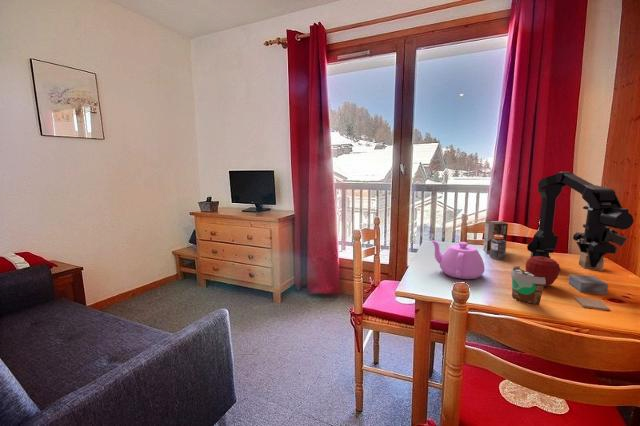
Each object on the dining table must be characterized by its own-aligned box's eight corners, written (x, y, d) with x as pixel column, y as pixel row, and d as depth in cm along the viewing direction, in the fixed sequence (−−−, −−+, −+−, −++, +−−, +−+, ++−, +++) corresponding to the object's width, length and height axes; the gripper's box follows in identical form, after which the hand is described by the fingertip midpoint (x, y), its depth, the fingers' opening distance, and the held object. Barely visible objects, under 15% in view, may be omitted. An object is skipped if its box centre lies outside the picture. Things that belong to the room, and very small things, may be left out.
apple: (560, 293, 110) (564, 262, 108) (524, 287, 115) (528, 257, 113) (555, 282, 119) (558, 253, 117) (522, 277, 124) (525, 250, 122)
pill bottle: (502, 256, 152) (504, 234, 150) (505, 260, 146) (507, 237, 144) (488, 255, 154) (490, 233, 152) (491, 258, 148) (493, 236, 146)
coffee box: (501, 250, 161) (504, 221, 158) (505, 254, 155) (508, 223, 152) (482, 249, 163) (485, 220, 160) (486, 253, 157) (488, 222, 154)
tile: (582, 307, 99) (582, 305, 99) (574, 298, 106) (574, 296, 105) (609, 310, 97) (610, 309, 96) (599, 301, 103) (599, 299, 103)
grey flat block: (580, 292, 110) (581, 282, 110) (568, 284, 118) (569, 274, 117) (606, 295, 109) (608, 284, 108) (592, 286, 116) (594, 276, 116)
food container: (499, 292, 111) (502, 265, 109) (515, 291, 111) (518, 265, 110) (525, 308, 99) (528, 278, 97) (542, 307, 99) (546, 278, 98)
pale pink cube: (588, 269, 133) (589, 258, 132) (583, 265, 138) (585, 255, 137) (602, 271, 131) (604, 259, 131) (597, 267, 136) (599, 256, 135)
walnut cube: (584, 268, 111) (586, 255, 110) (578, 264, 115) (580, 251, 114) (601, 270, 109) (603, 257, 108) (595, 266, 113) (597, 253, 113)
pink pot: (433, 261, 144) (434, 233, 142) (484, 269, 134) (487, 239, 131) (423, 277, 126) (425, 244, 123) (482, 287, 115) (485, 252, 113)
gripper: (641, 230, 98) (633, 276, 100) (611, 220, 115) (605, 259, 117) (597, 228, 102) (590, 272, 104) (575, 218, 119) (569, 256, 122)
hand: (589, 264), depth 112 cm, fingers closed on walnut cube, 5 cm apart
